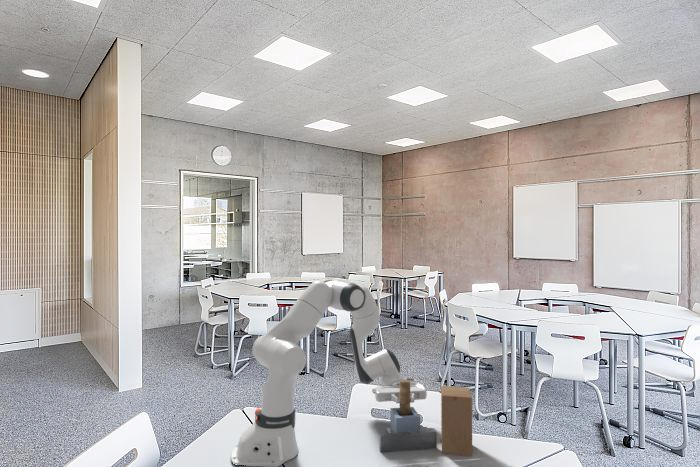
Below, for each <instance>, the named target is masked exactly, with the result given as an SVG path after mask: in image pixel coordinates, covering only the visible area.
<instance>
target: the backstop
mask: <svg viewBox="0 0 700 467" xmlns="http://www.w3.org/2000/svg"><path fill="white" fill-rule="evenodd" d="M385 430H386V432H383V433H379V452H380V453H382V454H383V453H392V452H407V451H409V452H410V451H419V450H420V451H421V450H422V451H423V450H434V449H437V446H438V445H437V443H438V442H437V439H438V438H437V437H438V436H437V432H438V431H436V430H435V429H431V430H430V429H428V430H421V429H420V431H412V432H397V433H392V431H391V429H390V427H387V428H386V429H385Z"/></svg>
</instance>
